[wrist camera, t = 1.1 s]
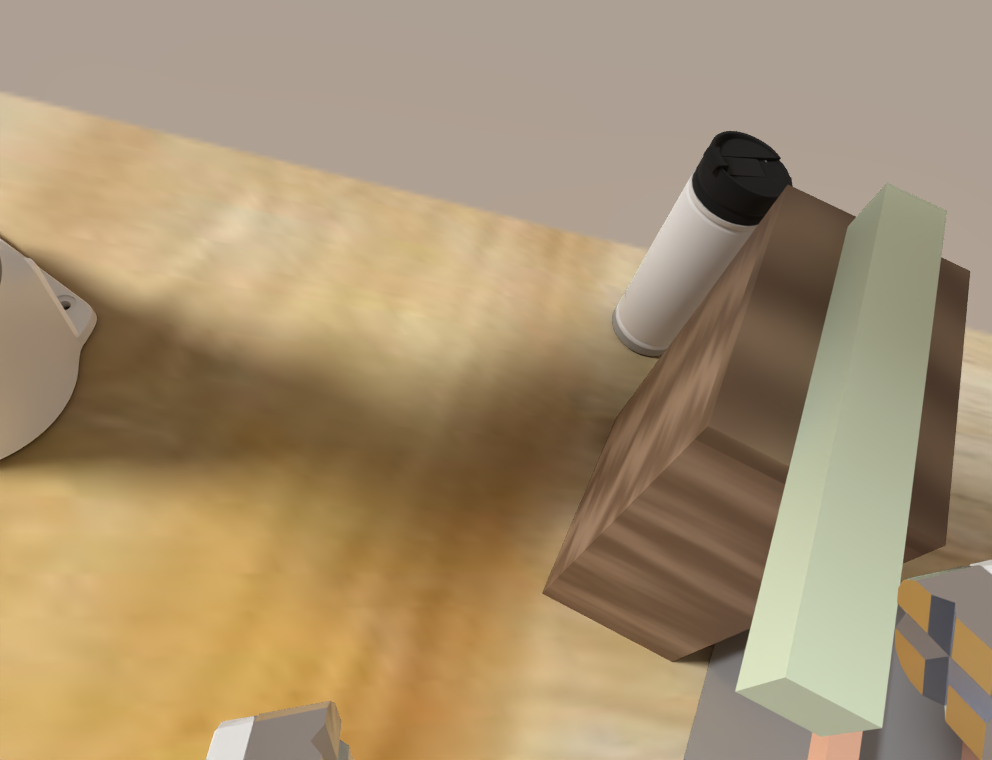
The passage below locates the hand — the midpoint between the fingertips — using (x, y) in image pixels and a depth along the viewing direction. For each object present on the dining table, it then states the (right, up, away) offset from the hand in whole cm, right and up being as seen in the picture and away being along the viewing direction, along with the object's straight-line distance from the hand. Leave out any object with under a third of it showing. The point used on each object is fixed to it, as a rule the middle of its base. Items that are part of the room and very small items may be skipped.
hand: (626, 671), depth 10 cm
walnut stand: (+9, -7, +44) cm, 45 cm away
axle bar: (+12, +2, +19) cm, 23 cm away
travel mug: (+11, +9, +54) cm, 56 cm away
